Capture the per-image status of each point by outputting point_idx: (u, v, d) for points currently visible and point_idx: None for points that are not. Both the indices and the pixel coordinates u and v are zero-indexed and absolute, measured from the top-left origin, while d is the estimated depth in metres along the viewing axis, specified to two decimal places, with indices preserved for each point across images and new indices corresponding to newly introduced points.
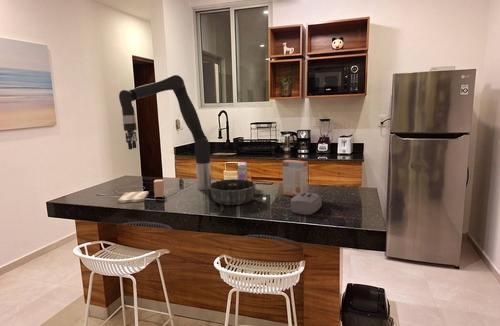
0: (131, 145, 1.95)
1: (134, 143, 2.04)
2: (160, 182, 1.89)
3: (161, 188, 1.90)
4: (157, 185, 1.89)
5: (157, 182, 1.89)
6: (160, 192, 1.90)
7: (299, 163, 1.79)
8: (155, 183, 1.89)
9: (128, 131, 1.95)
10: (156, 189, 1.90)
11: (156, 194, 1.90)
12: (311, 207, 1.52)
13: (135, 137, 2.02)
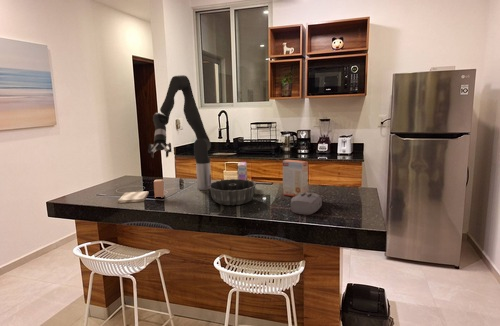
0: (152, 153, 2.00)
1: None
2: (160, 182, 1.89)
3: (161, 188, 1.90)
4: (157, 185, 1.89)
5: (157, 182, 1.89)
6: (160, 192, 1.90)
7: (299, 163, 1.79)
8: (155, 183, 1.89)
9: (154, 143, 2.06)
10: (156, 189, 1.90)
11: (156, 194, 1.90)
12: (311, 207, 1.52)
13: (164, 146, 2.04)
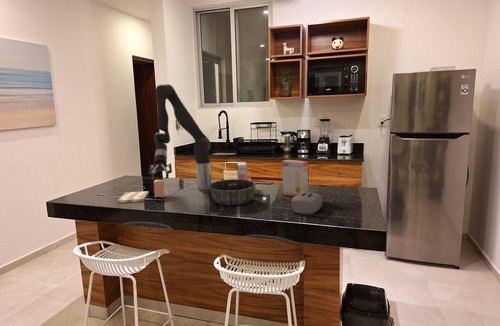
0: (151, 174, 1.97)
1: None
2: (160, 182, 1.89)
3: (161, 188, 1.90)
4: (157, 185, 1.89)
5: (157, 182, 1.89)
6: (160, 192, 1.90)
7: (299, 163, 1.79)
8: (155, 183, 1.89)
9: None
10: (156, 189, 1.90)
11: (156, 194, 1.90)
12: (312, 207, 1.52)
13: (164, 167, 2.00)
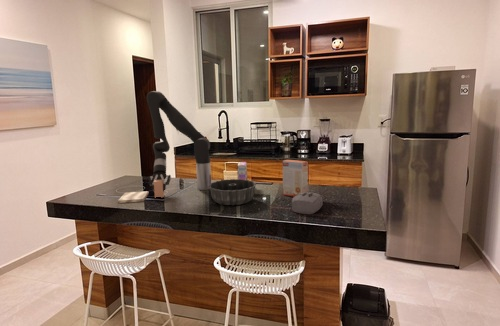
0: (153, 186, 1.91)
1: None
2: (160, 182, 1.89)
3: (161, 188, 1.90)
4: (157, 185, 1.89)
5: (157, 182, 1.89)
6: (160, 192, 1.90)
7: (299, 163, 1.79)
8: (155, 183, 1.89)
9: None
10: (156, 189, 1.90)
11: (156, 194, 1.90)
12: (312, 207, 1.53)
13: (162, 178, 1.94)
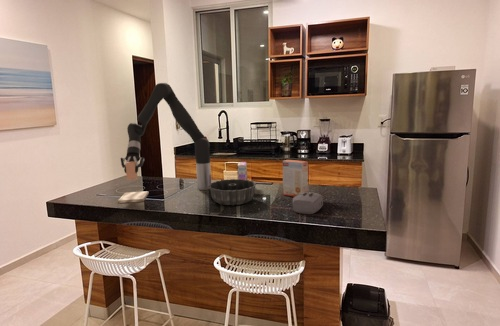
0: (125, 168, 1.87)
1: None
2: (132, 164, 1.85)
3: (133, 170, 1.86)
4: (129, 167, 1.86)
5: (129, 163, 1.85)
6: (132, 174, 1.86)
7: (299, 163, 1.79)
8: (127, 164, 1.85)
9: None
10: (128, 171, 1.86)
11: (128, 176, 1.86)
12: (313, 206, 1.53)
13: (135, 160, 1.90)
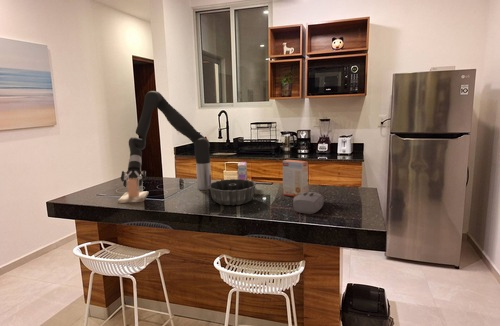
0: (124, 182, 1.89)
1: None
2: (134, 181, 1.87)
3: (135, 187, 1.88)
4: (131, 184, 1.87)
5: (131, 181, 1.87)
6: (134, 191, 1.88)
7: (299, 163, 1.79)
8: (128, 182, 1.87)
9: None
10: (130, 188, 1.88)
11: (130, 193, 1.88)
12: (314, 206, 1.53)
13: (138, 174, 1.92)
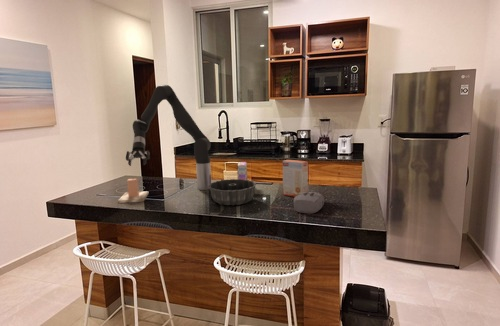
0: (129, 161, 2.00)
1: None
2: (134, 181, 1.87)
3: (135, 187, 1.88)
4: (131, 184, 1.87)
5: (131, 181, 1.87)
6: (134, 191, 1.88)
7: (299, 163, 1.79)
8: (128, 182, 1.87)
9: None
10: (130, 188, 1.88)
11: (130, 193, 1.88)
12: (314, 206, 1.54)
13: (142, 154, 2.03)
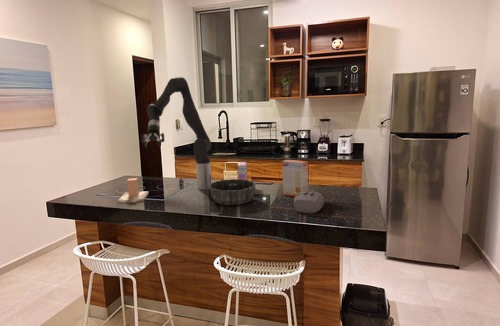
0: (145, 143, 2.06)
1: None
2: (134, 181, 1.87)
3: (135, 187, 1.88)
4: (131, 184, 1.87)
5: (131, 181, 1.87)
6: (134, 191, 1.88)
7: (299, 163, 1.79)
8: (128, 182, 1.87)
9: None
10: (130, 188, 1.88)
11: (130, 193, 1.88)
12: (315, 206, 1.54)
13: (157, 136, 2.09)
